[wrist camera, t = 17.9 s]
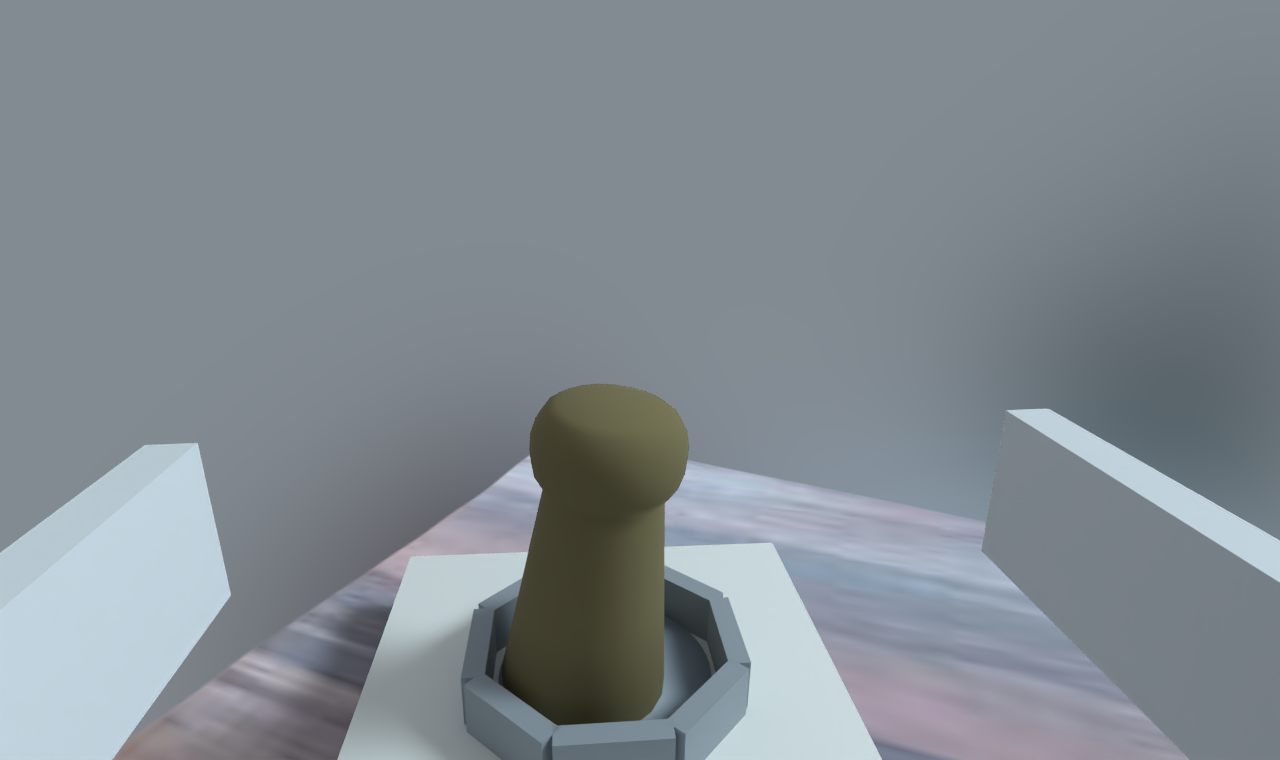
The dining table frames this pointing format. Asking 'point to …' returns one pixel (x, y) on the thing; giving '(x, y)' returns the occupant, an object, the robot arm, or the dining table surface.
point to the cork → (596, 556)
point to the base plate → (616, 751)
